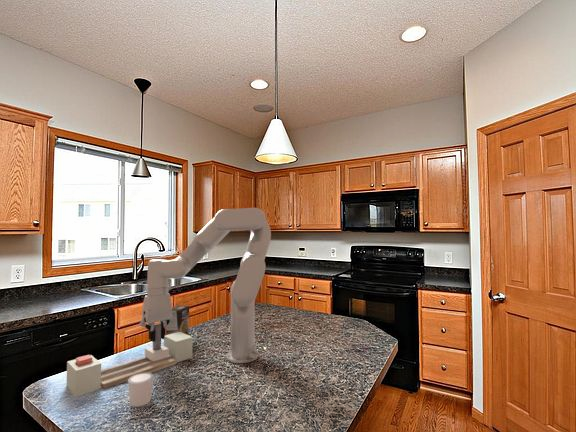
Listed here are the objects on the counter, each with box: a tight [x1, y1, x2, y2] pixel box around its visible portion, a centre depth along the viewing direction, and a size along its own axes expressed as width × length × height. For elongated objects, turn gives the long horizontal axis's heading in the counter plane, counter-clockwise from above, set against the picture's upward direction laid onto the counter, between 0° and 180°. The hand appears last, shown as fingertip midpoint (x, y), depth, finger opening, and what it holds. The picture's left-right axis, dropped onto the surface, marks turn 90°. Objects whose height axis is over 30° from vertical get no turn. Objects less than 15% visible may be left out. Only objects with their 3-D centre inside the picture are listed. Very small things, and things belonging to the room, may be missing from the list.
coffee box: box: [165, 305, 190, 336], centre depth 140 cm, size 9×6×16 cm
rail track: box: [101, 355, 177, 390], centre depth 113 cm, size 12×25×2 cm, turn 138°
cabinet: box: [163, 332, 194, 364], centre depth 126 cm, size 10×7×8 cm
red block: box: [75, 354, 92, 367], centre depth 101 cm, size 4×4×4 cm
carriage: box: [144, 323, 169, 362], centre depth 120 cm, size 7×6×12 cm
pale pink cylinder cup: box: [127, 373, 154, 408], centre depth 93 cm, size 7×7×7 cm
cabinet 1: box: [66, 354, 102, 398], centre depth 101 cm, size 10×7×8 cm
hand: (157, 339), depth 120 cm, fingers closed on carriage, 3 cm apart
